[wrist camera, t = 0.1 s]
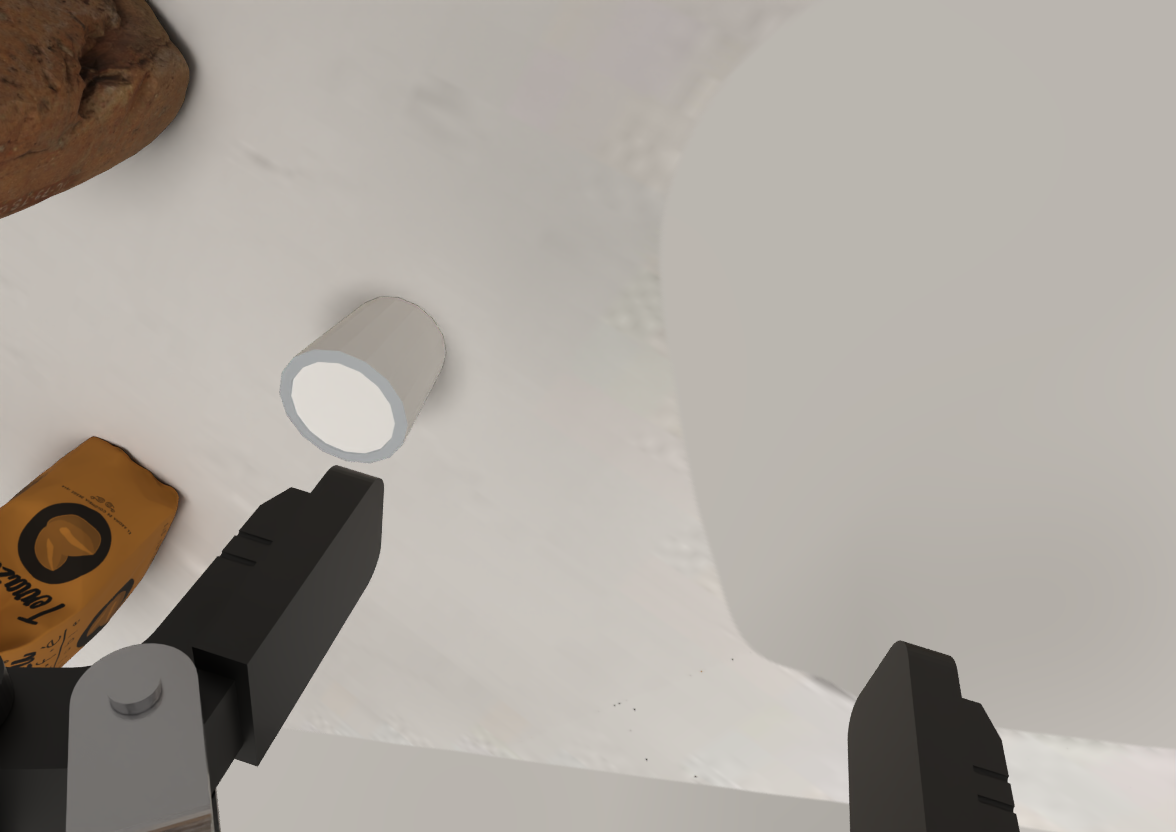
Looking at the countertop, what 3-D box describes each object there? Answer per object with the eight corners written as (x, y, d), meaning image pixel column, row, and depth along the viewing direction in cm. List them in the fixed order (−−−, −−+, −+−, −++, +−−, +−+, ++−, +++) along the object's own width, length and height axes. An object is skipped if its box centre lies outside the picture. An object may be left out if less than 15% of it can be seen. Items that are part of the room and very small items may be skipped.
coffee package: (211, 504, 59) (-49, 789, 41) (149, 578, 66) (-96, 849, 48) (88, 414, 56) (-244, 677, 39) (37, 501, 63) (-264, 757, 46)
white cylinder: (431, 277, 44) (374, 342, 38) (473, 386, 47) (426, 460, 42) (323, 295, 46) (254, 358, 41) (370, 397, 50) (313, 469, 44)
